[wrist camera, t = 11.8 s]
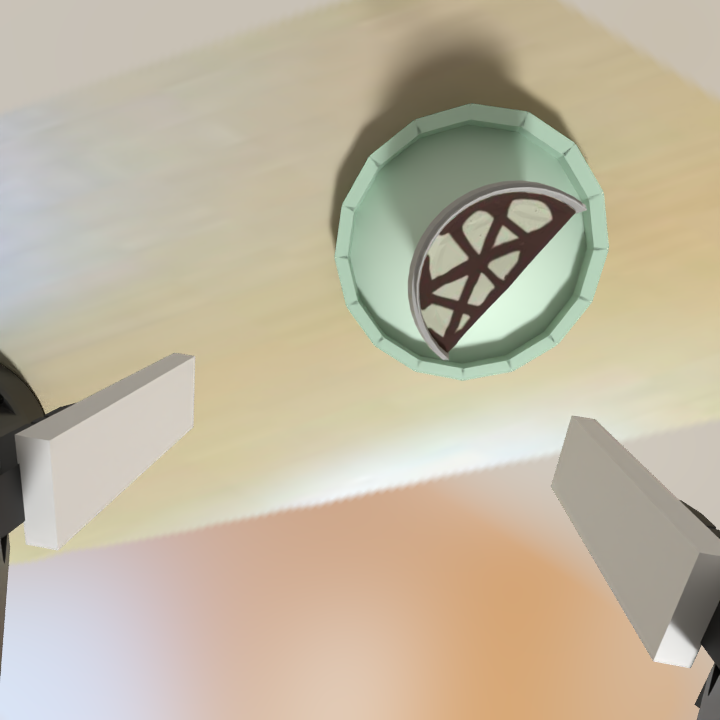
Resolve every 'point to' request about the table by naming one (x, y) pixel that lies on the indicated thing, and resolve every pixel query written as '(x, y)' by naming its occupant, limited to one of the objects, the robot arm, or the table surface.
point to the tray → (434, 193)
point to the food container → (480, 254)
